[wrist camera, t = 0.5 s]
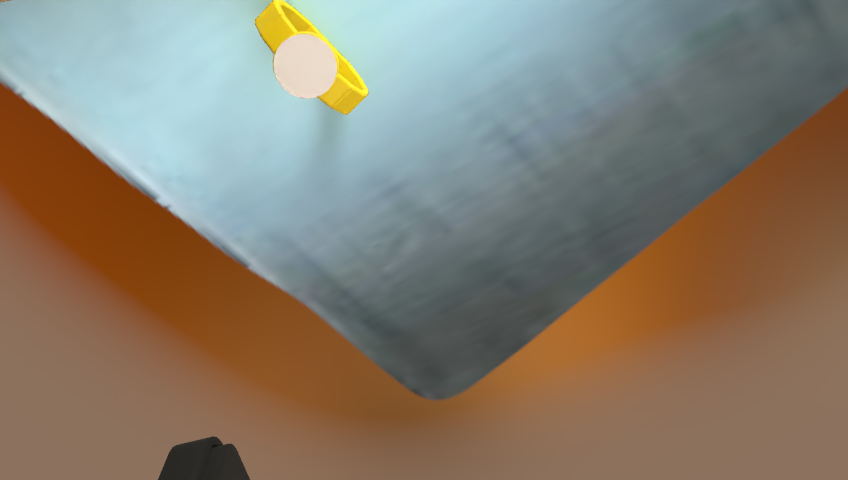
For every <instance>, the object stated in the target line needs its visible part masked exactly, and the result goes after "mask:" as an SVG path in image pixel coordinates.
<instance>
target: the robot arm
mask: <svg viewBox="0 0 848 480" xmlns="http://www.w3.org/2000/svg"><path fill="white" fill-rule="evenodd" d="M158 480H250V479H249V476H248V474H247V472H246V470H245V467H244V465H243V463H242V461H241V458H240V456H239V454H238V452H237V450H236V448H235V447H234V446H233V445H232V444H226V445H223V444H222V442H221V441H220V440H219V439H218V438H217V437H210V438H205V439H201V440H197V441H192V442H188V443H184V444H180V445H176V446H174V447H173V448H172V449H171V451H170V452H169V454H168V457H167V459H166V462H165V464H164V467H163V469H162V472H161V474H160V476H159V479H158Z"/></svg>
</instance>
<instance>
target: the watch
mask: <svg viewBox="0 0 848 480" xmlns="http://www.w3.org/2000/svg"><path fill="white" fill-rule="evenodd" d="M255 25H256V27H257V29H258V31H259V34H260V36H261V37H262V39H263V40H264V42H265V43H266V44H267V45H268V47H269V48H270V49H271V51H272V52H273V53H274V58H273V70H274V73H275V76H276V79H277V81H278V82H279V83H280V85H281V86H282V87H283V89H285V90H286V91H287V92H289V93H290V94H291V95H294V96H297V97H300V98H315V97H318V98H319V99H320V100H322V101H323V102H324V103H325V104H327V105H328V106H329V107H331V108H332V109H334V110H336V111H338V112H340V113H342V114H349V113H350V112H351V111H352V110H353V109H354V108H355V107H356V106H357V105H358V104H359V103H360V102H361V101H362V100H363V99H364V98H365V97H366V96H367V95H368V89H367V87H366V85H365V84H364V82H363V80H362V78H361V77H360V76H359V75H358V73H357V72H356V71H355V69H354V68H353V67H352V65H351V64H350V63H349V61H348V60H346V59H345V58H344V57H343V56H342V55H341V54H340V53H339V52H338V51H337V50H336V49H335V47H334V46H333V45H332V44H331V43H330V42H329V41H328V40H327V39H326V38H325V37H324V36H323V35H322V34H321V33H320V32H319V31H318V30H317V29H316V27H315V26H314V25H313V24H312V23H311V22H310V21H309V20H308V19H307V18H305V17H304V16H303V15H302V14H301V13H300V12H298V11H297V10H296V9H295V8H293V7H292V6H291V5H289V4H288V3H286V2H284V1H283V0H273V1H272V2H271V3H270V4H269V6H268V7H267V8H266V9H265V10H264V11H263V12H262V13H261V14H260V15H259V16H258V17H257V18H256V19H255Z"/></svg>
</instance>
